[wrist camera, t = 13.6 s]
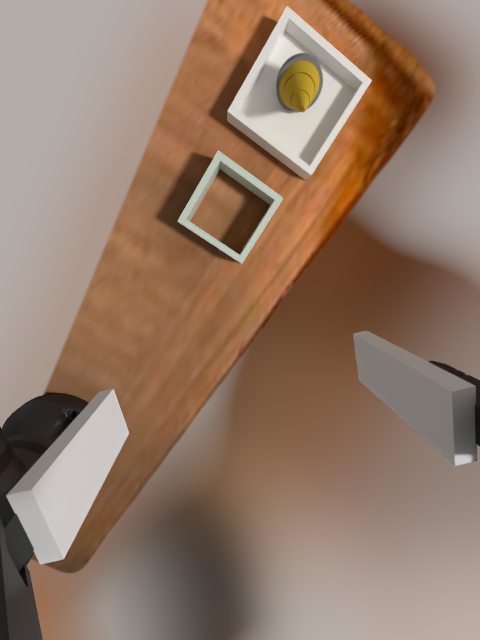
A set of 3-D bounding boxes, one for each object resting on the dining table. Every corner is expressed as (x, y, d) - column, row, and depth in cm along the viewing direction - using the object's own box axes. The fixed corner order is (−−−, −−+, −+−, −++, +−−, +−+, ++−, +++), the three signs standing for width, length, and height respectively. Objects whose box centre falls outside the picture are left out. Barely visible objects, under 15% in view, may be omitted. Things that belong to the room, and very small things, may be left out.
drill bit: (324, 84, 36) (335, 124, 30) (284, 107, 38) (288, 147, 33) (312, 32, 32) (322, 67, 26) (268, 61, 34) (270, 98, 29)
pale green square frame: (240, 263, 40) (241, 263, 36) (181, 224, 38) (177, 221, 35) (278, 203, 38) (283, 198, 35) (218, 160, 37) (218, 150, 33)
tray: (305, 180, 38) (311, 175, 36) (226, 121, 36) (227, 111, 33) (361, 92, 36) (371, 80, 34) (282, 24, 34) (287, 6, 32)
